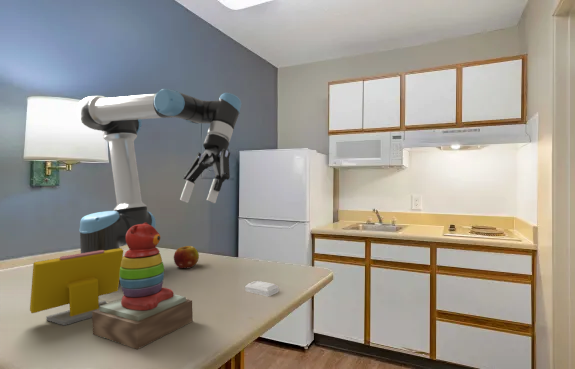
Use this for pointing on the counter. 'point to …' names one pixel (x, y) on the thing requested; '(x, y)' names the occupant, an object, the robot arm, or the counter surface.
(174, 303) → the plinth
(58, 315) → the toy computer monitor
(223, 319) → the counter surface
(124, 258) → the stacking bear
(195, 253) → the fruit
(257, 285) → the white beveled block
